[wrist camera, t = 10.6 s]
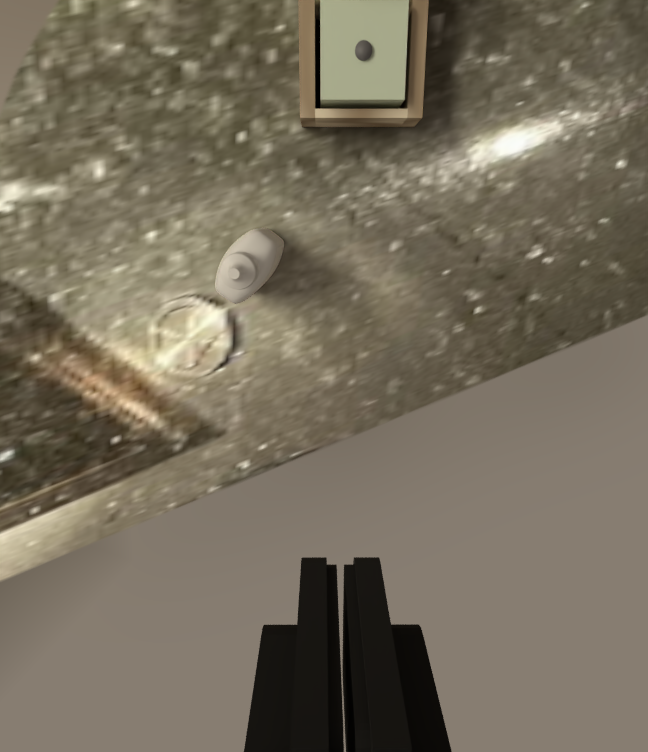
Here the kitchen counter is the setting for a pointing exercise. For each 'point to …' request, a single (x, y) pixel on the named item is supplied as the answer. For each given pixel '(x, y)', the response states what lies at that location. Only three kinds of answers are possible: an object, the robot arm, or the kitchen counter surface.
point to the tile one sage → (363, 53)
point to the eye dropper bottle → (248, 264)
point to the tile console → (363, 117)
